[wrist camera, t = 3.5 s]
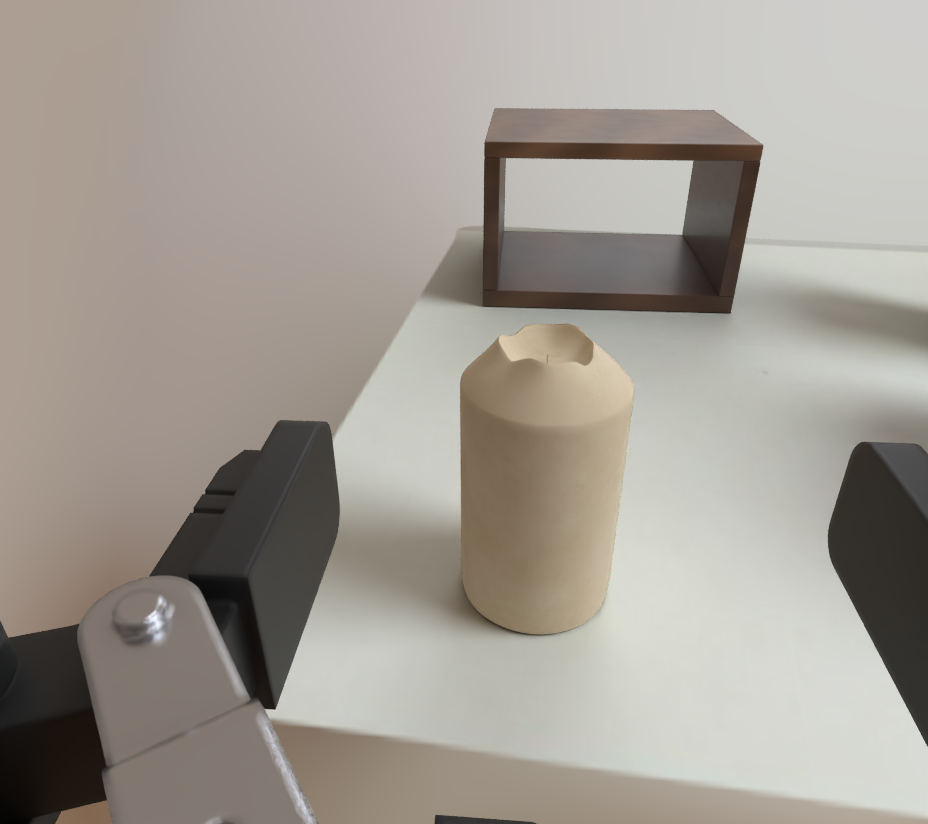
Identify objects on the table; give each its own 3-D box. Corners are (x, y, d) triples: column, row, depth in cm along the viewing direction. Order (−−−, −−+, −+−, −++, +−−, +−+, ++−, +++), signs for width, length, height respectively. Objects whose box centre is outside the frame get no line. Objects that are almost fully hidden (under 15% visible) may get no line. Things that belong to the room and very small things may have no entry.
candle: (601, 650, 25) (635, 392, 20) (444, 620, 26) (438, 369, 21) (613, 545, 29) (644, 314, 24) (480, 524, 30) (482, 299, 25)
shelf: (482, 306, 51) (484, 141, 45) (491, 244, 63) (494, 108, 57) (730, 313, 50) (764, 144, 44) (692, 248, 62) (714, 109, 56)
